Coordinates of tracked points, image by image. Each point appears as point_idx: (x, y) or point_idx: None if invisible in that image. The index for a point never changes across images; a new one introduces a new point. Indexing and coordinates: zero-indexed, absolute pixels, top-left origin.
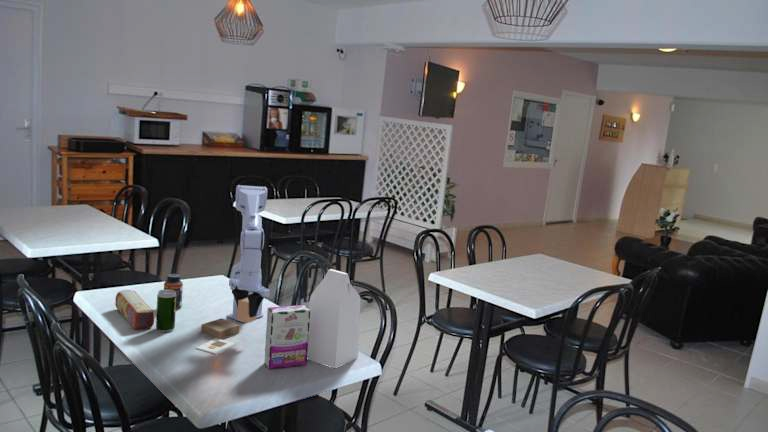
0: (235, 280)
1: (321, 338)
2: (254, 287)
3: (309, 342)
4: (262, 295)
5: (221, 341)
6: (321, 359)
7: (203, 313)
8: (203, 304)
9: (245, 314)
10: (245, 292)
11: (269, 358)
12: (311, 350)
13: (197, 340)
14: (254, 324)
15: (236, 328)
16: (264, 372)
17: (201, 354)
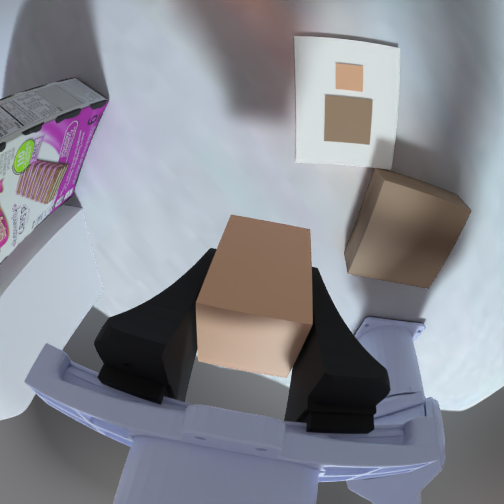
0: (386, 471)
1: None
2: (131, 436)
3: (38, 234)
4: (58, 358)
5: (354, 148)
6: None
7: (479, 308)
8: (483, 341)
9: (237, 245)
10: (293, 402)
11: (50, 83)
12: (45, 220)
13: (438, 122)
14: None
15: (351, 255)
16: (73, 55)
17: (343, 9)
